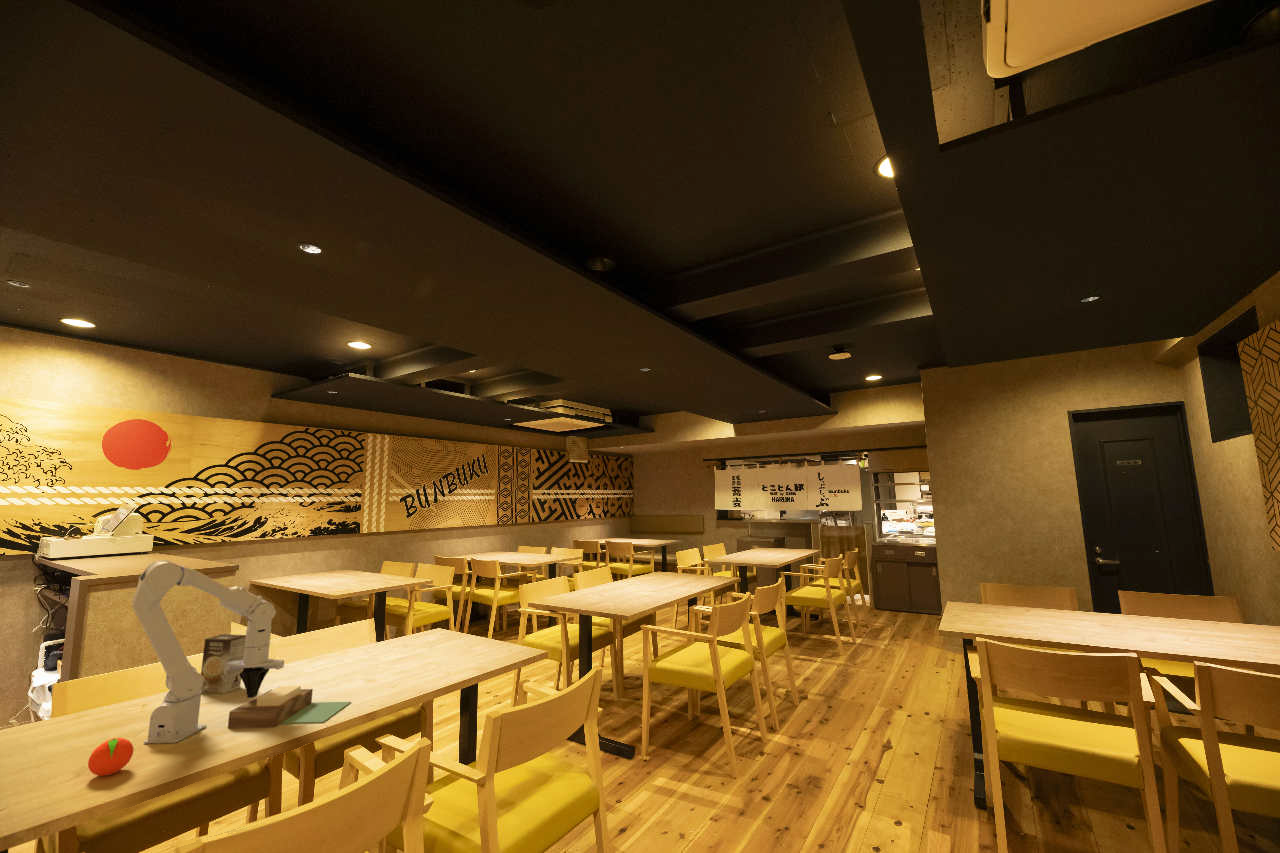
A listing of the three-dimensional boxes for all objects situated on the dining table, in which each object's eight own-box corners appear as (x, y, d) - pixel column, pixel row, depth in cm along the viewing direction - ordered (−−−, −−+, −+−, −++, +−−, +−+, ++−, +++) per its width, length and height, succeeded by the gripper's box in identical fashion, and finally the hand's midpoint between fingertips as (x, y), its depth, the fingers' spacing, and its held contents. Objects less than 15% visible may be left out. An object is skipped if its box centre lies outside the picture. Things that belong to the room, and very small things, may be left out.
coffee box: (196, 693, 159) (203, 638, 162) (215, 686, 166) (221, 633, 168) (224, 694, 158) (229, 639, 161) (241, 686, 165) (247, 634, 167)
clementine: (131, 775, 111) (135, 740, 112) (84, 788, 106) (89, 750, 107) (131, 762, 116) (135, 728, 117) (86, 774, 111) (91, 738, 113)
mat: (323, 722, 137) (323, 721, 137) (280, 723, 136) (281, 722, 136) (350, 702, 151) (350, 701, 151) (312, 703, 150) (312, 702, 150)
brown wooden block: (274, 727, 134) (276, 710, 135) (227, 728, 134) (229, 711, 135) (311, 703, 150) (312, 688, 151) (269, 704, 150) (270, 689, 150)
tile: (279, 705, 138) (279, 697, 139) (256, 706, 138) (257, 698, 139) (300, 693, 147) (300, 686, 148) (278, 693, 147) (279, 686, 147)
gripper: (292, 640, 149) (288, 690, 147) (241, 641, 148) (236, 691, 146) (276, 647, 142) (271, 700, 140) (222, 648, 141) (216, 701, 139)
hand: (252, 696), depth 143 cm, fingers closed
